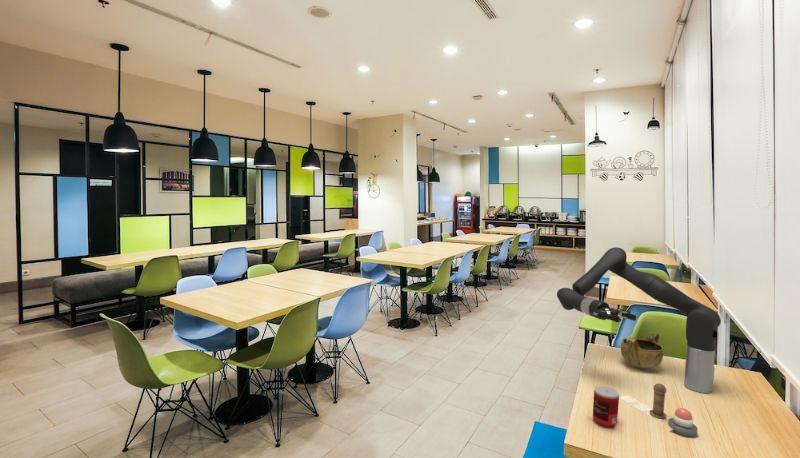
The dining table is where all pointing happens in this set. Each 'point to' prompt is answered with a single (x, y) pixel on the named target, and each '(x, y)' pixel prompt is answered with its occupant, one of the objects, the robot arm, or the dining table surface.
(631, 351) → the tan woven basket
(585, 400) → the dining table surface
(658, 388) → the pawn
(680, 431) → the dome housing
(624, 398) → the track
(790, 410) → the dining table surface
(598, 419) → the canned food
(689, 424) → the dome plunger
